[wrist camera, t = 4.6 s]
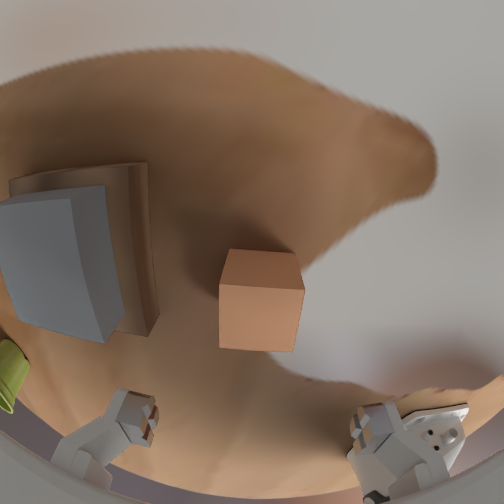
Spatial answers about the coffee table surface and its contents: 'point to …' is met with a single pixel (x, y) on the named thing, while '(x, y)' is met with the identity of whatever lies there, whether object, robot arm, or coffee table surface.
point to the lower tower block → (116, 230)
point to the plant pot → (11, 373)
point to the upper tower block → (61, 262)
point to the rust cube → (260, 301)
